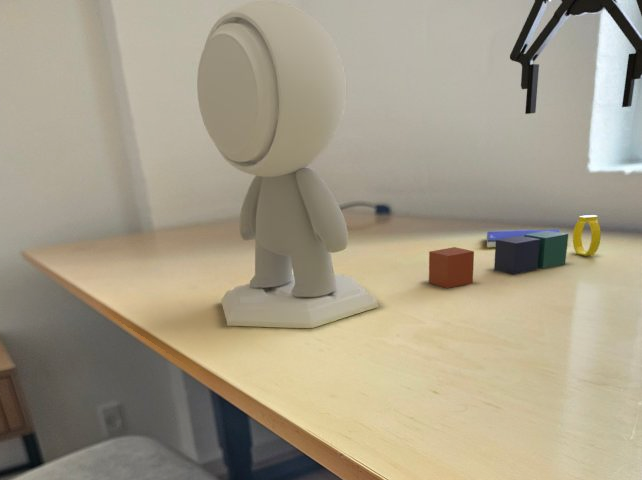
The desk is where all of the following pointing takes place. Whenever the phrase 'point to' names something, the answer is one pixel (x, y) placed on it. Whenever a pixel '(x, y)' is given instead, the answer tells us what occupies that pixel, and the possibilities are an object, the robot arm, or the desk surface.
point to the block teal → (551, 248)
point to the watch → (594, 236)
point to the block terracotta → (451, 267)
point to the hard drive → (508, 235)
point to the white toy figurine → (280, 160)
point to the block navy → (516, 254)
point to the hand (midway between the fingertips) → (576, 110)
